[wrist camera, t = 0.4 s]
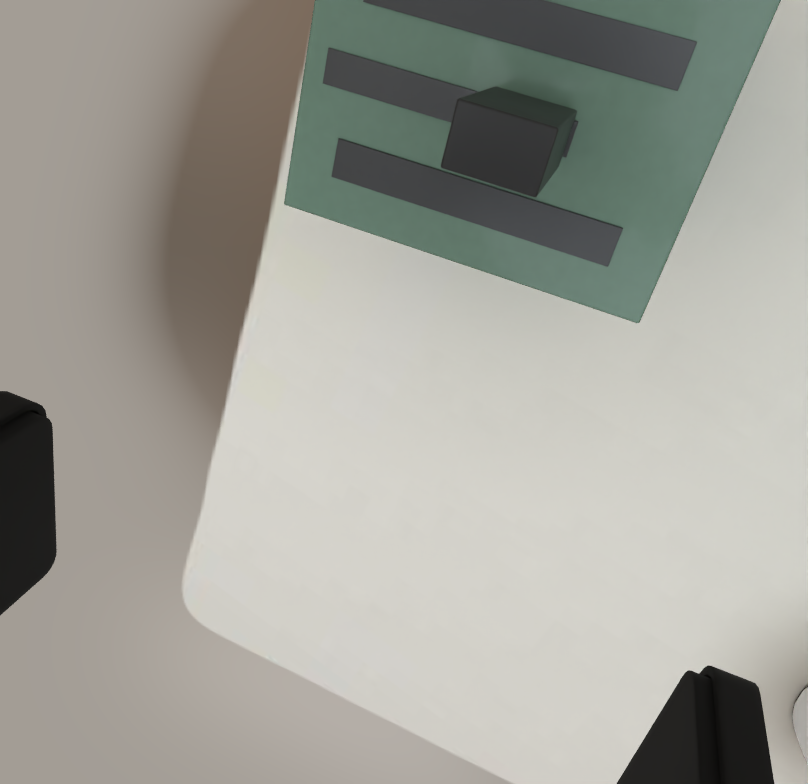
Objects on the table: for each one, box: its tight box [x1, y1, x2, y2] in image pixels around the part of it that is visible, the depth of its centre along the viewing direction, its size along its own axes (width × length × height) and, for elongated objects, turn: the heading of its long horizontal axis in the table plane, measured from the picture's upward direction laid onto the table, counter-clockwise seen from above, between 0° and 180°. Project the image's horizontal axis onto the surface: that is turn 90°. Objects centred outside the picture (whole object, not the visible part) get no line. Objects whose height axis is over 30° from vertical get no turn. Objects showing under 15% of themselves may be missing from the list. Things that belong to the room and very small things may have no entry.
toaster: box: [284, 0, 781, 323], centre depth 25 cm, size 9×12×10 cm
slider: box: [441, 86, 577, 197], centre depth 18 cm, size 2×2×4 cm
